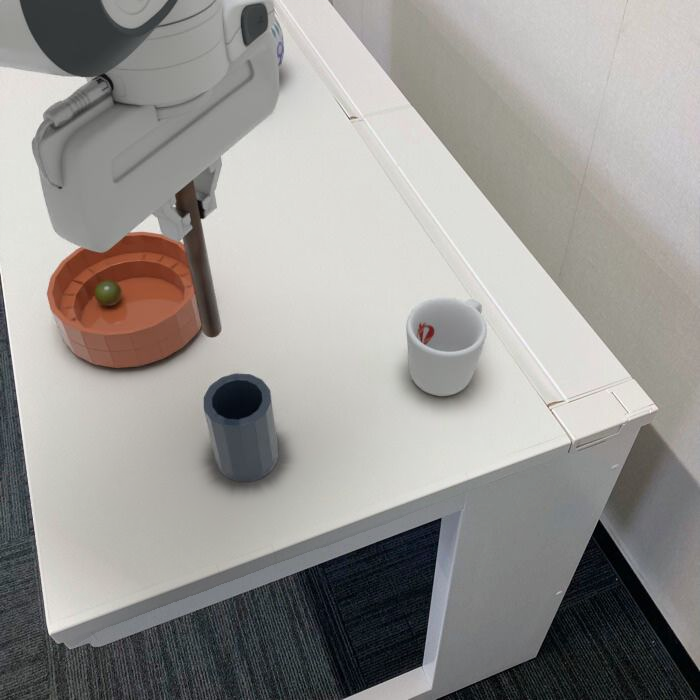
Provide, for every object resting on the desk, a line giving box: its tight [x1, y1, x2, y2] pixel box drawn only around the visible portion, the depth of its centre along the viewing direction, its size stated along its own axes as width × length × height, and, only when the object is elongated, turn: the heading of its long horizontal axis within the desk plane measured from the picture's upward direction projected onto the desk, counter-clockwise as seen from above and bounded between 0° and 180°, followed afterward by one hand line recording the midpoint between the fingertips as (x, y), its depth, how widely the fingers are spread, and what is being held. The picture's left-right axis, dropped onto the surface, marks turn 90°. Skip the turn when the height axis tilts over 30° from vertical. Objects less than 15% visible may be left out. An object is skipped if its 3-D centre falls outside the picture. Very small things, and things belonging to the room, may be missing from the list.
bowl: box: [46, 231, 202, 369], centre depth 86 cm, size 16×16×6 cm
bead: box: [94, 280, 122, 306], centre depth 88 cm, size 3×3×3 cm
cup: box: [405, 297, 488, 397], centre depth 80 cm, size 11×8×8 cm
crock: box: [202, 372, 279, 483], centre depth 72 cm, size 6×6×9 cm
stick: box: [174, 180, 222, 338], centre depth 58 cm, size 2×2×20 cm
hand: (190, 222), depth 57 cm, fingers closed on stick, 1 cm apart
